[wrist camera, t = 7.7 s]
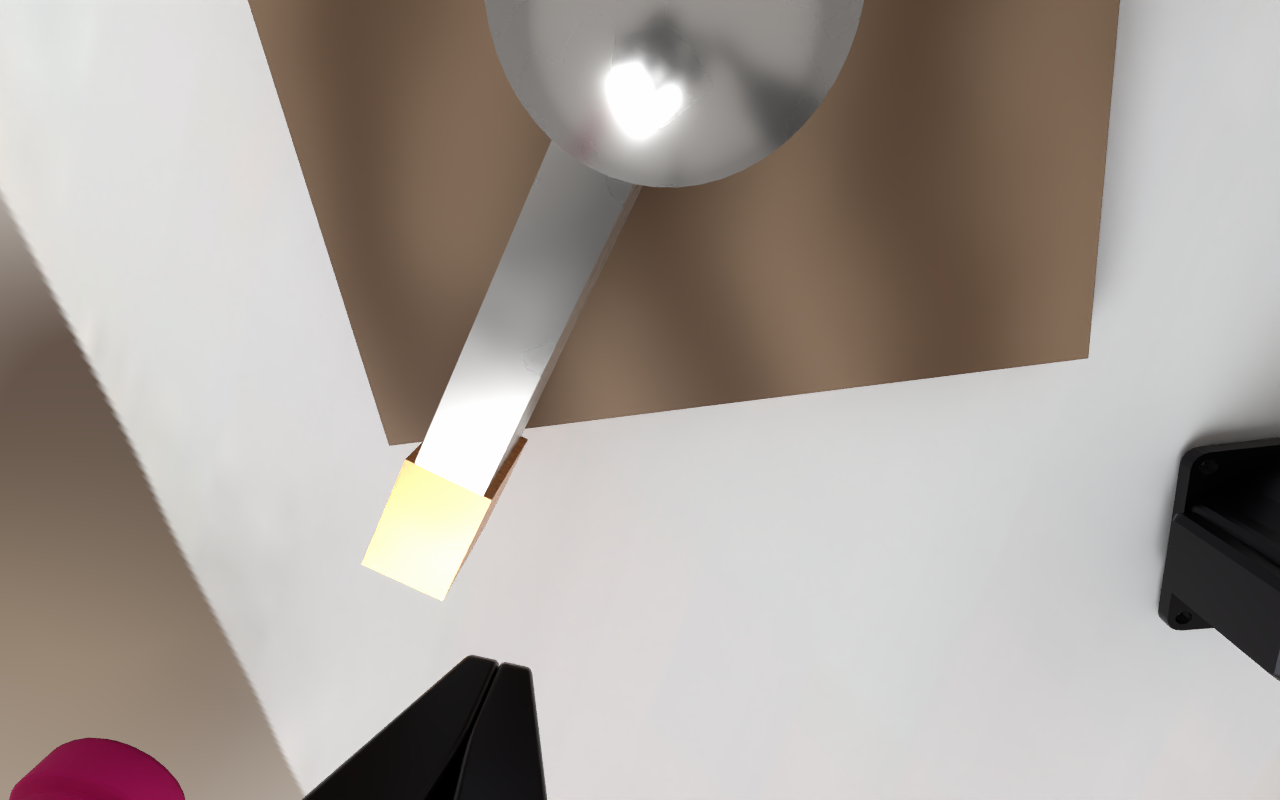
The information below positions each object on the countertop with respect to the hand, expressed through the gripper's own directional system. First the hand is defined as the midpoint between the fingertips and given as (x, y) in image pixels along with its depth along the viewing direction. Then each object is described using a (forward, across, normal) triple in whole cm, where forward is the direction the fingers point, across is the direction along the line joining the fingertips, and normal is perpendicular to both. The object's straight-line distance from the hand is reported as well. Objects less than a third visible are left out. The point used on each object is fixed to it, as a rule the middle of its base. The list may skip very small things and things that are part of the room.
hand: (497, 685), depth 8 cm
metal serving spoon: (+8, +1, -4) cm, 10 cm away
